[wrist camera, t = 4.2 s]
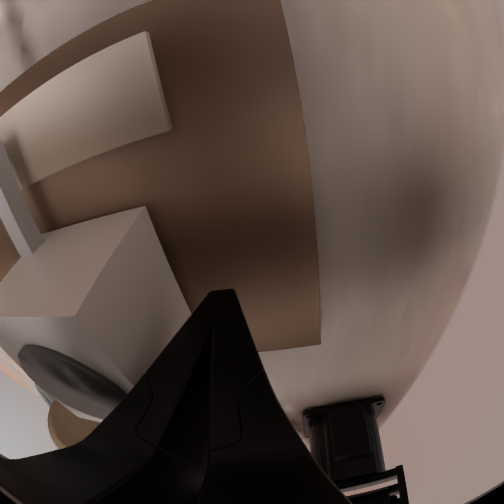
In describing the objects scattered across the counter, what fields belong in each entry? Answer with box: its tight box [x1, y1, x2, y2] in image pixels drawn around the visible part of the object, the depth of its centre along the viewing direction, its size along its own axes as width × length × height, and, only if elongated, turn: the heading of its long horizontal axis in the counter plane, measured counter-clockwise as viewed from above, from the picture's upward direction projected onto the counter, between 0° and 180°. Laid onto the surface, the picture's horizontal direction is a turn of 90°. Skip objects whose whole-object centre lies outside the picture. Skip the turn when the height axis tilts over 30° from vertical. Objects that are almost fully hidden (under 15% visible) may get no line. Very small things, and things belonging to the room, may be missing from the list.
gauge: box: [0, 141, 191, 422], centre depth 7 cm, size 10×8×5 cm
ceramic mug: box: [35, 383, 101, 449], centre depth 18 cm, size 11×8×8 cm
